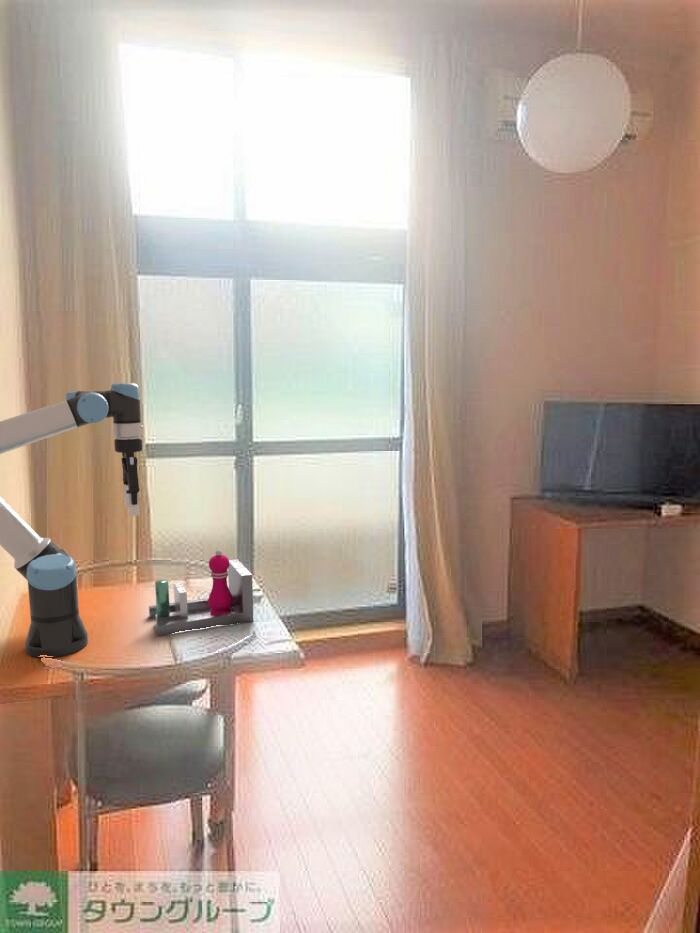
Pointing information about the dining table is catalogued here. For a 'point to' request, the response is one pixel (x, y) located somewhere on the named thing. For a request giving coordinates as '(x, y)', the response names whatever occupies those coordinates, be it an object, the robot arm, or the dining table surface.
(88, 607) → the dining table surface
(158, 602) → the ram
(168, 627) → the frame
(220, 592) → the pepper mill
